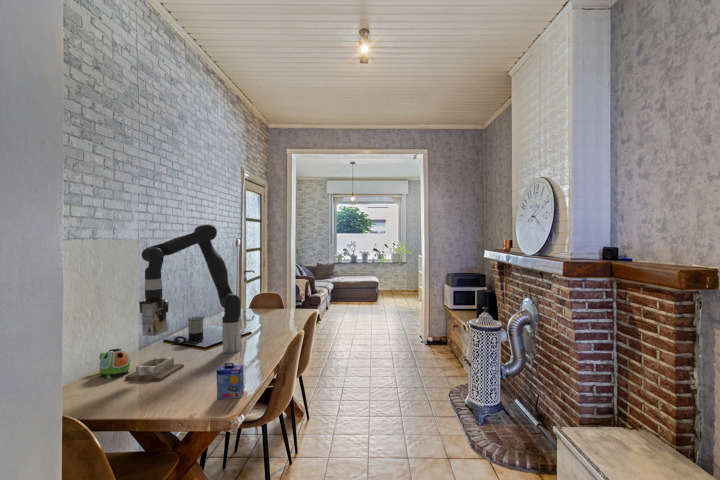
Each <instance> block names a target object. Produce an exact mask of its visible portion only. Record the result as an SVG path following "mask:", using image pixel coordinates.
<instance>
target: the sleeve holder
mask: <svg viewBox="0 0 720 480" xmlns="http://www.w3.org/2000/svg"><path fill="white" fill-rule="evenodd" d="M174 360H175V358H174V357H152V358H151V359H148V360H146V361H144V362H143V363H141V364H139V365H136V366H135V371H134V372H132V373H131V372H130V373H129V374H127V375H126V376H125V377H124V379H125V381H147V380H150V381H152V382H158V381H159V382H162V381H164V380H165V379H167V378H168V377H170V376H171V374H172V375H173V374H175V373H176V372H177V371H180V370H181V369H183V368H184V365H185V364H184V363H175V361H174ZM166 377H167V378H166ZM150 381H149V382H150Z"/></svg>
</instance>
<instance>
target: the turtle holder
mask: <svg viewBox="0 0 720 480" xmlns="http://www.w3.org/2000/svg"><path fill="white" fill-rule="evenodd" d="M98 358H99V364H98V365H99V373H100V374H99V377H100V378H101V377H103V376H104V375H106V378H107V379H109V380H110V379H112V378H113V377H112V376H111V375H118V374H122V373H124V372H125V373H126V374H127V373H129V374H131V372H130V370H129V369H130V368H131V359H130V356H129V354H128V352H126V351H125V350H124V349H123V348H118V347H116V348H110V349H108V350H106V352H104V351H103V352H100V354H99V356H98Z"/></svg>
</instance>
